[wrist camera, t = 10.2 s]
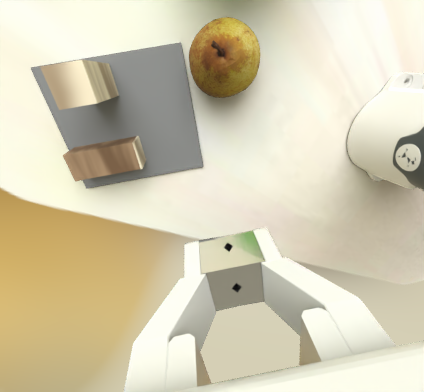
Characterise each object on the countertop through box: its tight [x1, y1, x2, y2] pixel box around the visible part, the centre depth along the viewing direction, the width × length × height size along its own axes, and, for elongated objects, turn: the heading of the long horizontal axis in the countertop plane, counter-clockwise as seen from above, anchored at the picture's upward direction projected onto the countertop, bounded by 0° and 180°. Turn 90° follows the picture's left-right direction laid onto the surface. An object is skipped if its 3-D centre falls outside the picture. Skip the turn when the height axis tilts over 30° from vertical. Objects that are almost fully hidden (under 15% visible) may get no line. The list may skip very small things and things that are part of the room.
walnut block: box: [63, 136, 146, 181], centre depth 35 cm, size 4×4×10 cm
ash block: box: [40, 60, 119, 110], centre depth 28 cm, size 4×4×10 cm
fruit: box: [189, 17, 260, 98], centre depth 28 cm, size 9×9×12 cm
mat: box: [31, 43, 203, 188], centre depth 35 cm, size 20×18×1 cm
